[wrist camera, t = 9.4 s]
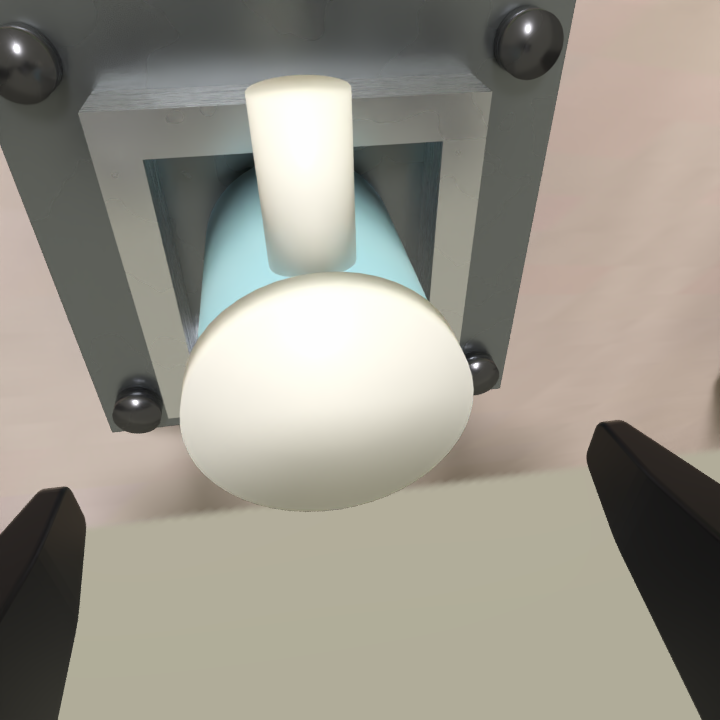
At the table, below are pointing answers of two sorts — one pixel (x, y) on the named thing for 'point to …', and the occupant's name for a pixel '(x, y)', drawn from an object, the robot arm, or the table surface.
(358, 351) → the pump canister
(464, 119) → the grey metal socket plate
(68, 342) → the table surface
